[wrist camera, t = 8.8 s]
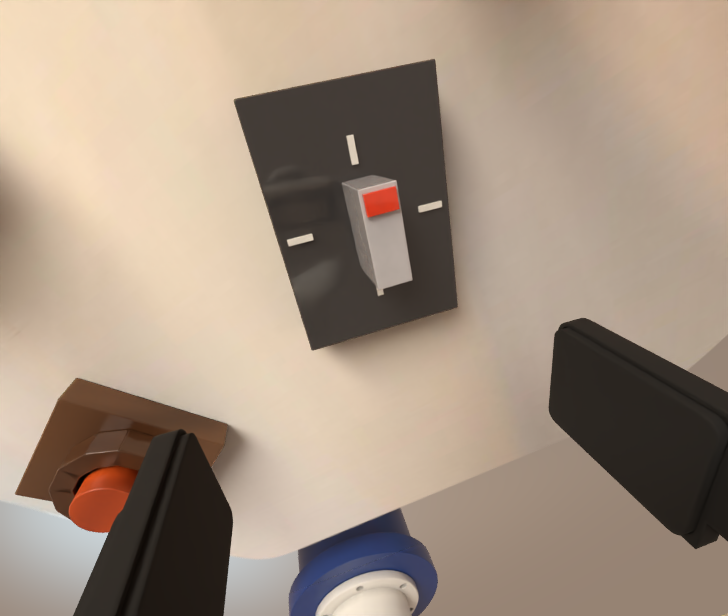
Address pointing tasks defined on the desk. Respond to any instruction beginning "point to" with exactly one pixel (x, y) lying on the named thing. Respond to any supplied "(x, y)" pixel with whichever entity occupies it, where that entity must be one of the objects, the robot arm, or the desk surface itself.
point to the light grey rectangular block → (378, 229)
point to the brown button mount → (104, 439)
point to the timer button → (101, 498)
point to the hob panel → (327, 202)
